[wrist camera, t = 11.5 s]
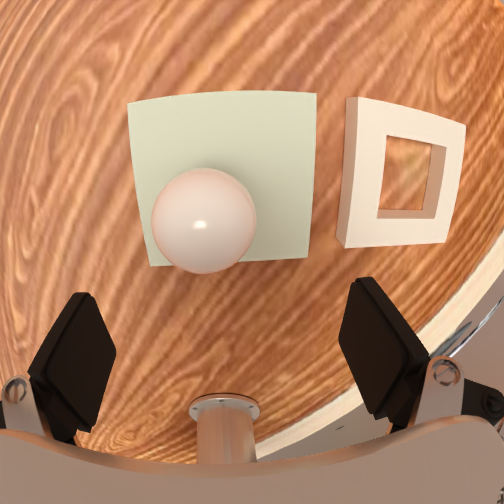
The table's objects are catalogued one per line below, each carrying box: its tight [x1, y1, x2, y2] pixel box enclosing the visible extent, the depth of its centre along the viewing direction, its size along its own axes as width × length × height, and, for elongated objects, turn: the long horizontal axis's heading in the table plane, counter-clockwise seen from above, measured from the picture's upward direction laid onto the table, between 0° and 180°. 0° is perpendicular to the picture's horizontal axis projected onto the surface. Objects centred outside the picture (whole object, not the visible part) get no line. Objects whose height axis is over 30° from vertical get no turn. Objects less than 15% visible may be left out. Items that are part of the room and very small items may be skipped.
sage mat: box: [127, 91, 316, 266], centre depth 23 cm, size 16×16×1 cm
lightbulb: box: [151, 168, 257, 274], centre depth 18 cm, size 6×6×11 cm
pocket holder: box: [336, 97, 466, 248], centre depth 23 cm, size 14×14×2 cm
